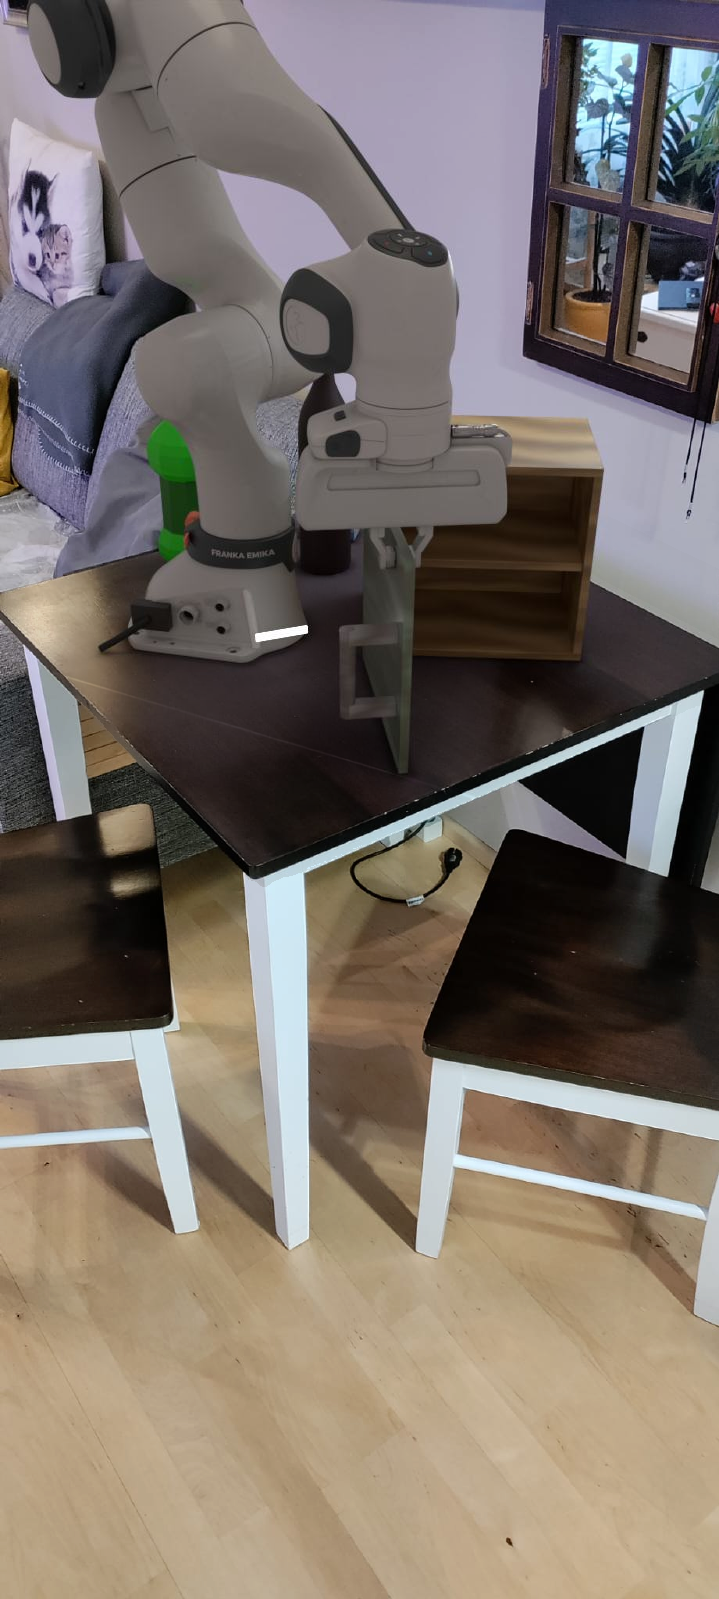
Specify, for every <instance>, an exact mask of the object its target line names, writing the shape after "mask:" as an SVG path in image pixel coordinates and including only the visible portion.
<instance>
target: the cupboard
mask: <svg viewBox="0 0 719 1599" xmlns="http://www.w3.org/2000/svg"><path fill="white" fill-rule="evenodd" d="M464 424H467V425H483V424H496V425H498V428H501V429H504V430H505V431H507V432H508V433H509V435H510V436H511V439H512V456H511V461H510V463H509V465H508V466H507V467H506V468H505V472H506V483H507V512H506V515H505V516H504V517H503V518H502V519H501V521H500V522H499V523H496V524H473V525H445V526H433V537H432V538H431V540H430V541H429V543H428V544H427V546H426V547H425V549H424V550H423V552H421V564H420V568H415V593H414V621H413V648H412V656H418V657H419V656H420V657H421V656H423V657H449V658H450V657H451V658H454V657H455V658H480V659H481V658H483V659H484V658H485V659H486V658H487V659H517V660H518V659H519V660H520V659H521V660H547V661H548V660H549V661H550V660H551V661H581V657H582V650H583V649H582V648H583V640H584V635H585V634H584V633H585V625H586V617H587V610H588V601H589V594H590V593H589V591H590V585H591V578H592V571H593V570H592V569H593V561H594V552H595V545H596V539H597V538H596V537H597V530H598V522H599V521H598V520H599V513H600V506H601V499H602V490H603V481H604V472H605V468H604V465H603V462H602V459H601V456H600V452H599V449H598V446H597V443H596V441H595V440H596V439H595V437H594V434H593V430H592V427H591V425H590V422H589V419H588V417H559V416H558V417H557V416H556V417H555V416H513V415H512V416H511V415H473V414H472V415H468V414H452V416H451V425H464ZM498 435H503V434H502V433H498ZM400 528H401V530H402V533H403V535H404V537H405V539H406V542H407V544H408V545H412V543H413V542H414V540H415V538H416V537H417V535H418V531H417V528H416V527H400Z"/></svg>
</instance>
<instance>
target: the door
mask: <svg viewBox="0 0 719 1599" xmlns="http://www.w3.org/2000/svg"><path fill="white" fill-rule="evenodd" d="M381 539H382V541H383V543H384V544H385V546H394V550H395V552H396V560H395V564H396V565H395V568H393V569H380V566H379V551H378V550H377V548H376V547H375V545H374V543H373V542H372V540H371V538H370V535H369V532H368V528H363V563H362V565H363V568H362V569H363V570H362V571H363V572H362V574H363V575H362V576H363V578H362V585H363V586H362V623H360V624H346V625H341V626H340V627H339V717H340V719H342V720H346V721H347V720H348V721H349V720H361V719H375V718H381V721H382V724H383V727H384V731H385V734H386V736H387V741H388V744H389V746H390V750H391V754H392V756H393V760H394V763H395V766H396V769H397V773H398V774H409V757H410V755H409V754H410V728H411V703H412V702H411V701H412V700H411V698H412V675H413V674H412V672H413V655H412V648H413V621H414V593H415V566H416V562H415V560H414V557H413V555H412V553H411V551H410V548H409V546H408V544H407V542H406V539H405V537H404V535H403V533H402V530H401V528H400V527H391V528H385V536H384V537H382V538H381ZM357 647H362V660H363V663H364V666H365V670H366V672H367V676H368V680H369V682H370V685H371V689H372V692H373V695H374V696H371V697H369V696H368V697H356V669H357V668H356V664H357V663H356V660H357V659H356V654H357V650H356V648H357Z"/></svg>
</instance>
